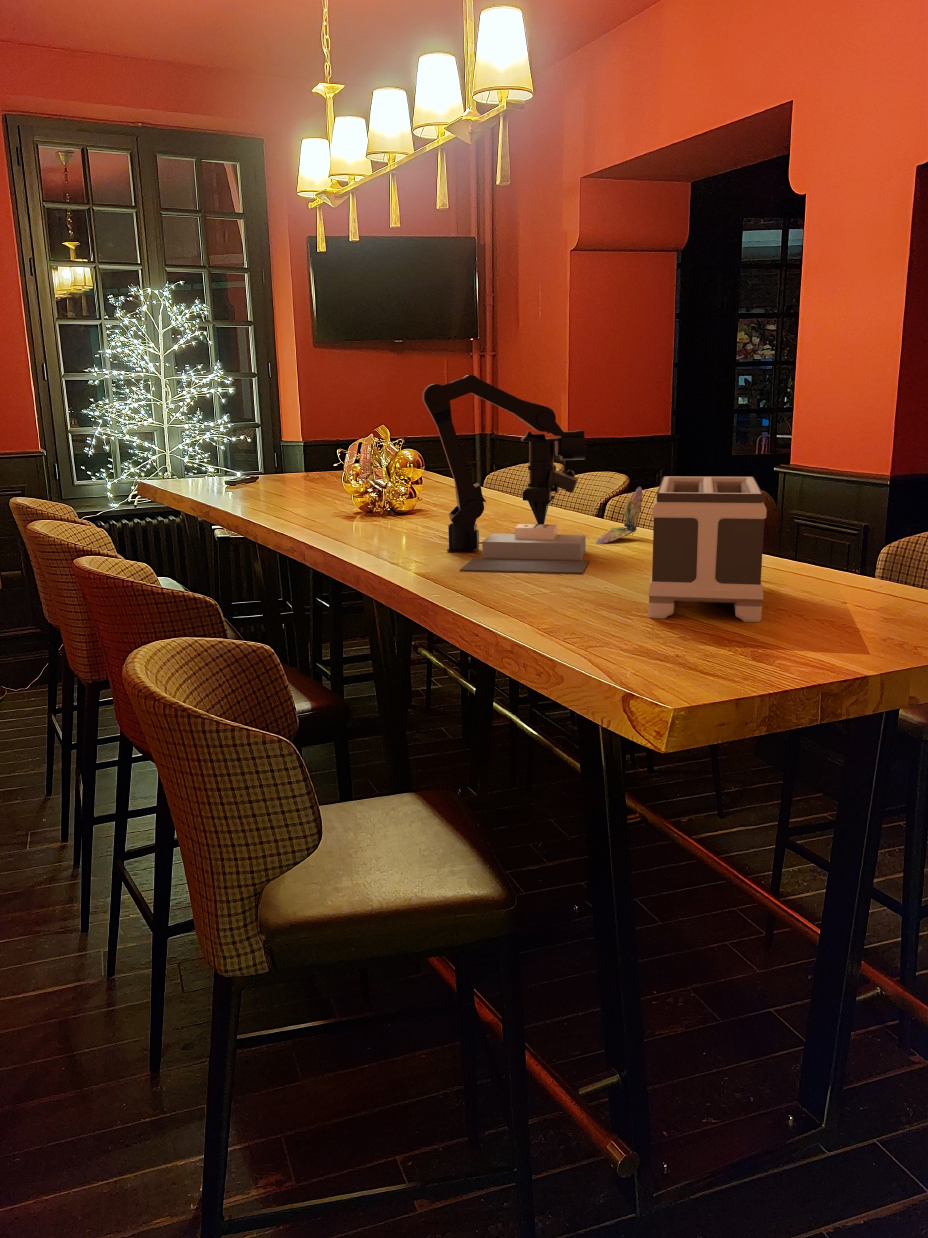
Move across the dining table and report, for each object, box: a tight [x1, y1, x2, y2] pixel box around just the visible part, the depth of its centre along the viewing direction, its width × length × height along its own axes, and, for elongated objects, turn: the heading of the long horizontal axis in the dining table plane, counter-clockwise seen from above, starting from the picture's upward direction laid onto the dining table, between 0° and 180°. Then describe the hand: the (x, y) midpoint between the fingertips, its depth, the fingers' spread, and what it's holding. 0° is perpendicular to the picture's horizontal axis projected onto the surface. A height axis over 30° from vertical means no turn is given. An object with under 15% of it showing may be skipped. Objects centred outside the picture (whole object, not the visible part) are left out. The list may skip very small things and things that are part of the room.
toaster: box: [647, 475, 767, 623], centre depth 171 cm, size 18×34×21 cm, turn 167°
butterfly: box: [595, 486, 645, 545], centre depth 238 cm, size 17×10×10 cm
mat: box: [459, 557, 590, 575], centre depth 206 cm, size 26×14×1 cm, turn 77°
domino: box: [514, 523, 558, 539], centre depth 220 cm, size 9×6×3 cm, turn 77°
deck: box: [481, 533, 587, 560], centre depth 219 cm, size 22×12×4 cm, turn 77°
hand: (541, 526), depth 228 cm, fingers closed
